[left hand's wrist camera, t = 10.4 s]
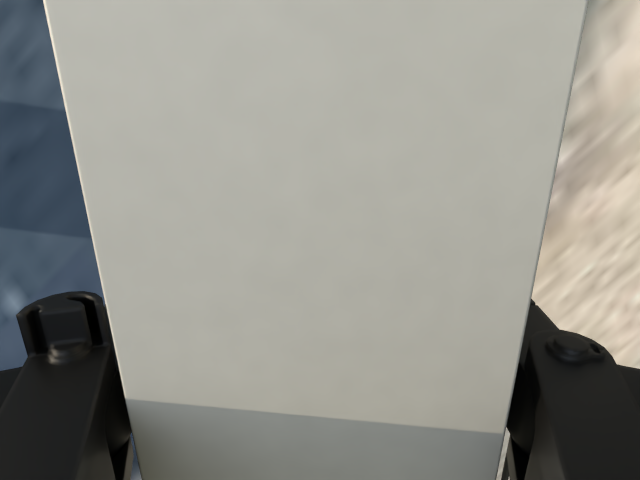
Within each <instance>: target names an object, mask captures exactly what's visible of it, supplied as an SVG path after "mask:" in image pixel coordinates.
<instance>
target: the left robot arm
mask: <svg viewBox="0 0 640 480" xmlns="http://www.w3.org/2000/svg"><path fill="white" fill-rule="evenodd" d="M16 317H17V320H18V324H19V327H20V330H21V334H22V337H23V341H24V344H25V348H26V351H27V355H28V358H27V360H26V362H25V363H24V365H23V367H19V368H14V369H9V370H3V371H0V480H130V478H131V470H132V462H133V448H132V443H131V438H130V434H131V432H132V429H131V424H130V419H129V415H128V410H127V405H126V400H125V395H124V390H123V386H122V381H121V376H120V371H119V366H118V361H117V356H116V352H115V347H114V342H113V337H112V332H111V327H110V322H109V318H108V313H107V308H106V304H105V307H104V305H103V300H102V297H100V296H99V295H97V294H96V293H91V292H85V291H78V292H66V293H61V294H55V295H51V296H49V297H46V298H43V299H40V300H37V301H35V302H33V303H32V304H30V305H28V306H26V307H24V308H23V309H22V310H21V311H20V312H19V313H18V314H17V315H16ZM506 427H507V429H508V430H509V432H510V438H509V443H508V448H507V453H506V457H505V462H504V467H503V472H502V478H501V480H508V477H510V480H640V369H637V368H631V367H626V366H621V365H617V364H616V363H615V361H614V359H613V357H612V356H611V354H610V353H609V352H608V351H607V350H606V349H605V348H604V347H603V346H601V345H600V344H598V343H597V342H595V341H594V340H592V339H590V338H587V337H585V336H582V335H580V334H577V333H573V332H568V331H564V330H559V329H558V328H557V327H556V325H555V324H554V323H553V322H552V321H551V320H550V319H549V318H548V317H547V315H546V314H545V313H544V312H543V311H542V310H541V309H540V308H539V307H538V306H537V305H535V302H534V301H533V300H532V299H531V301H530V306H529V311H528V317H527V322H526V327H525V332H524V337H523V342H522V348H521V353H520V358H519V363H518V368H517V373H516V379H515V384H514V389H513V394H512V399H511V404H510V410H509V415H508V420H507V425H506Z"/></svg>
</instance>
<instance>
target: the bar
mask: <svg viewBox="0 0 640 480" xmlns="http://www.w3.org/2000/svg"><path fill="white" fill-rule="evenodd" d="M588 1H589V0H43V2H44V7H45V12H46V17H47V21H48V26H49V31H50V36H51V41H52V46H53V51H54V55H55V60H56V65H57V70H58V75H59V80H60V85H61V89H62V94H63V99H64V104H65V109H66V114H67V119H68V123H69V128H70V133H71V138H72V143H73V148H74V153H75V157H76V162H77V167H78V172H79V177H80V182H81V186H82V191H83V196H84V201H85V206H86V211H87V216H88V220H89V225H90V230H91V235H92V240H93V245H94V250H95V254H96V259H97V264H98V269H99V274H100V279H101V284H102V288H103V293H104V298H105V303H106V308H107V313H108V318H109V322H110V327H111V332H112V337H113V342H114V347H115V352H116V356H117V361H118V366H119V371H120V376H121V381H122V386H123V390H124V395H125V400H126V405H127V410H128V415H129V419H130V424H131V429H132V434H133V439H134V444H135V449H136V453H137V458H138V463H139V468H140V473H141V478H142V480H496V477H497V472H498V466H499V461H500V456H501V451H502V446H503V441H504V435H505V430H506V425H507V420H508V415H509V410H510V404H511V399H512V394H513V389H514V384H515V379H516V373H517V368H518V363H519V358H520V353H521V348H522V342H523V337H524V332H525V327H526V322H527V317H528V311H529V306H530V301H531V296H532V291H533V286H534V280H535V275H536V270H537V265H538V260H539V255H540V249H541V244H542V239H543V234H544V229H545V224H546V218H547V213H548V208H549V203H550V198H551V193H552V187H553V182H554V177H555V172H556V167H557V162H558V156H559V151H560V146H561V141H562V136H563V131H564V125H565V120H566V115H567V110H568V105H569V99H570V94H571V89H572V84H573V79H574V74H575V68H576V63H577V58H578V53H579V48H580V43H581V37H582V32H583V27H584V22H585V17H586V12H587V6H588Z"/></svg>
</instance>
